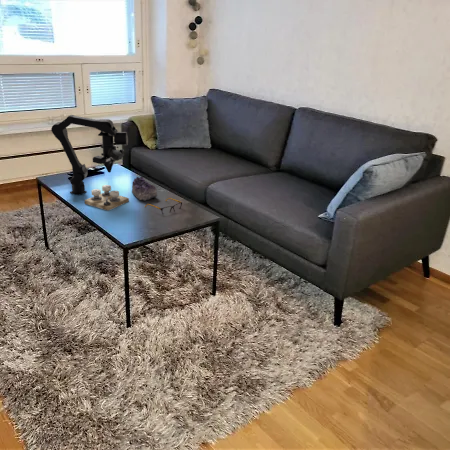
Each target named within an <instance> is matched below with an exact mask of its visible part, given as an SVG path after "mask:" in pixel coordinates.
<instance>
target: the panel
mask: <svg viewBox="0 0 450 450" xmlns="http://www.w3.org/2000/svg"><path fill="white" fill-rule="evenodd" d="M110 192H111V191H109V194H104V192H101V195H99V198H98V199H95V198H94V196H92V197H89V198H87V199H84V204H85V205H89V206H91V207H94V208H98V209H101V210H105V211H111V210H113V209H116V208H117V207H120V206H122V205H125V204H127V203H129V202H130V198H129V197H128V196H127V197H126V196H122V195H119V196H118V197H117V200H112V197H111V196H110ZM106 197H108V202H110V203H111V205H108V206H106V205H104V202H106Z"/></svg>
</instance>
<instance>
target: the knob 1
mask: <svg viewBox="0 0 450 450" xmlns="http://www.w3.org/2000/svg"><path fill="white" fill-rule="evenodd" d="M101 194H102V192H101V189H100V188H99V189H98V188H94V189H91V196H92V197H94V198H95V199H98V198H99V195H101Z"/></svg>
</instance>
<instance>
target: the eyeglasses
mask: <svg viewBox="0 0 450 450" xmlns="http://www.w3.org/2000/svg"><path fill="white" fill-rule="evenodd" d="M169 199H170V200H173V201H175V202H177V203H175V204H174V205H171V206H170V205H169V206H165V207H158V206H156V205H154V204H151V203H146V205H145V206H144V208H147V206H148V205H149V206H152V207H154V208H156V209H158V210H160V211H161V214H162V215H164V214H165V213H164V212H163V210H164V209H166V208H170V209H169V213H171V212H172V210H173V211H176V210H175V206H178V205H180V207H179V208H178V209H179V210H180V209H181V208H182V205H183V202H182V201H180V200H177V199H174V198H171V197H168V198H166V199H165V200H164V201H165V202H167V201H168V200H169Z"/></svg>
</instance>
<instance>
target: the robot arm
mask: <svg viewBox="0 0 450 450" xmlns="http://www.w3.org/2000/svg"><path fill="white" fill-rule="evenodd" d="M70 125H76V126H82V127H89V128H94V129H96V130H98V131H99V133H98V134H97V136H98V137H101V138H102V139H101V141H102V144H101V146H100V148H101V149H102V153H101V155H96V156H93V157H92V163H94V164H99V165H102V164H103V166H104V167H105V169H106V171H107V173H109V174H110V173H111V172H112V168H113V166H114V163H115V162H116V161H121V160H122V159H123V158H124V157H125V150H124V149H117V146H128V145H129V137H128V132H127V131H118V129H117V128H116V127H115V125H114V122H113V121H112V119H109V118H107V119H106V118H105V119H103V118H102V119H93V118H89V117H83V116H78V115H74V114H70V115H68V116H66V118H65V119H63V120H62V121H57V122H56V123H55V124H53V125H52V126H51V129H50V130H51V134H53V136H54V137H55V138H56V140H58V141H59V142H60V144H61V146H62V148H63V150H64V153H65V155H66V157H67V159H68V161H69V163H70V166H71V168H72V169H71V170H72V174H73V176H72V178H70V180H69V182H70V184H71V191H69V193H70V194H72V195H77V196H80V195H83V194H86V193H87V190H86V188H85V187H86V186H85V182H84V180H85V179H86V178H87V176H88V170H89V169H88V168H87V167H86V164H85V163H81V162H80V160H79V159H78V158H79V157H78V156H77V153H76V152H75V150H74V148H73V145H72V144H71V141H70V139H69V136H68V134H69V133H68V130H67V129H68V127H69V126H70ZM114 144H116V145H117V146H115V145H114Z"/></svg>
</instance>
